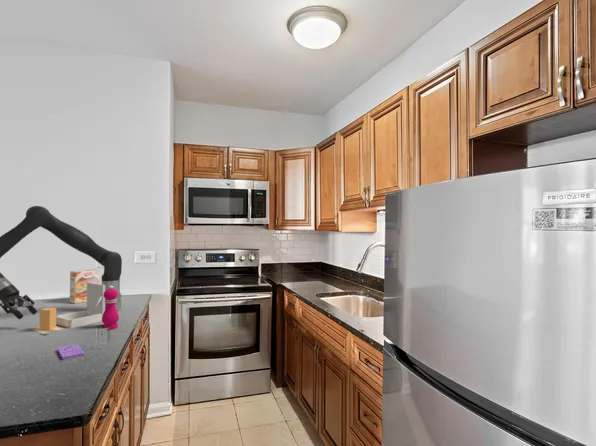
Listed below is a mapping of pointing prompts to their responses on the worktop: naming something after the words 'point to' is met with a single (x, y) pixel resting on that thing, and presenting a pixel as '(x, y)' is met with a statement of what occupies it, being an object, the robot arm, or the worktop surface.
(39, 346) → the worktop surface
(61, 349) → the sponges
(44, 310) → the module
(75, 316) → the equipment case
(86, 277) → the coffeecake box
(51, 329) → the board
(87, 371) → the worktop surface
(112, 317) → the pepper mill
